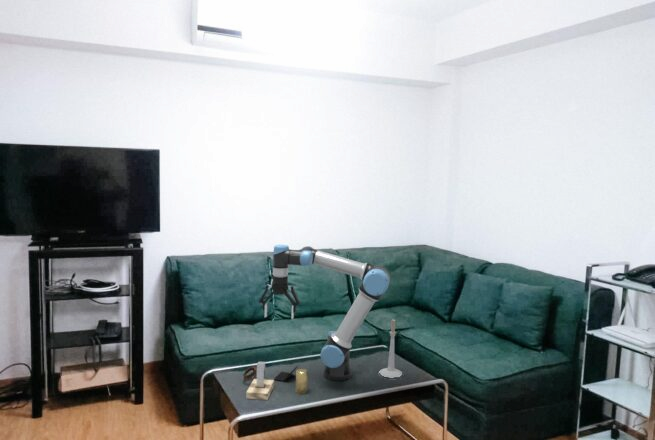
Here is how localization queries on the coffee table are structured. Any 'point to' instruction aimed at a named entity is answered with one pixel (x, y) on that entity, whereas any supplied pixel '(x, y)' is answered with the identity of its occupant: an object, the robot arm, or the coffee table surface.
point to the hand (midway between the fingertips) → (279, 317)
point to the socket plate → (260, 390)
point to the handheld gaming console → (283, 376)
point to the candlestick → (391, 357)
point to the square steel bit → (260, 375)
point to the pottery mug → (249, 377)
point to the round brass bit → (301, 381)
